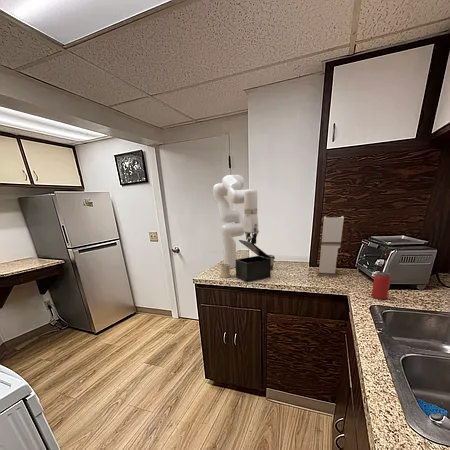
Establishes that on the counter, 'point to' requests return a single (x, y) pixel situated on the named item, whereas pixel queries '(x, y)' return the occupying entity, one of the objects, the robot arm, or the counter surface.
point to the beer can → (381, 285)
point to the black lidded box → (253, 268)
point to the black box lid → (254, 248)
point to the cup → (225, 270)
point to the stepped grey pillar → (330, 245)
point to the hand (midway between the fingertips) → (251, 243)
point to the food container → (271, 260)
